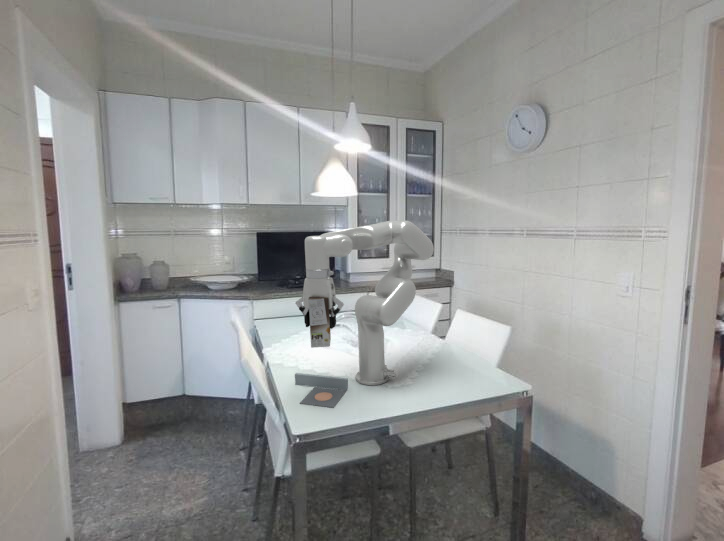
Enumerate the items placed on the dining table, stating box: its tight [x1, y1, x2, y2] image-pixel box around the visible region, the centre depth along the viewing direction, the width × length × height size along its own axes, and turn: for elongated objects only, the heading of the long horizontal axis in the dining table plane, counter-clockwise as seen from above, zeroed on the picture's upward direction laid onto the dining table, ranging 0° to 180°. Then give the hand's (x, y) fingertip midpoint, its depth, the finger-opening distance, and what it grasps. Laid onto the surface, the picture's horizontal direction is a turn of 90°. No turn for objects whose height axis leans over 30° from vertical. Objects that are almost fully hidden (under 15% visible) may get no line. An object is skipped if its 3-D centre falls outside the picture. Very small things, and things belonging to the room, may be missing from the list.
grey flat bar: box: [294, 372, 349, 391], centre depth 139 cm, size 20×1×4 cm, turn 73°
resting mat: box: [299, 387, 347, 409], centre depth 131 cm, size 12×12×1 cm
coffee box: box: [309, 297, 332, 348], centre depth 127 cm, size 9×6×16 cm
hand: (320, 326), depth 127 cm, fingers closed on coffee box, 8 cm apart
